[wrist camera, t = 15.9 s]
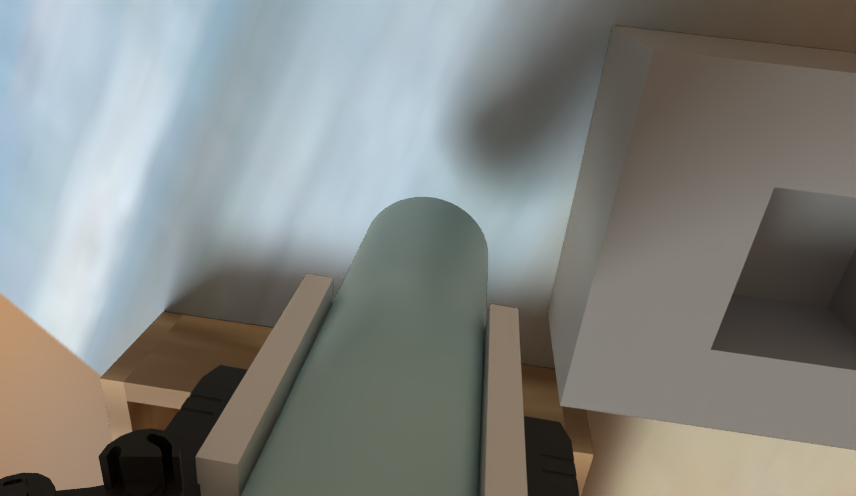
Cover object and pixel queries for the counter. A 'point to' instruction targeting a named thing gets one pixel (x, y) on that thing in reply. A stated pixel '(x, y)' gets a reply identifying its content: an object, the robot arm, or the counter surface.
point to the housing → (714, 240)
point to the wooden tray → (238, 347)
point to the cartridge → (391, 368)
